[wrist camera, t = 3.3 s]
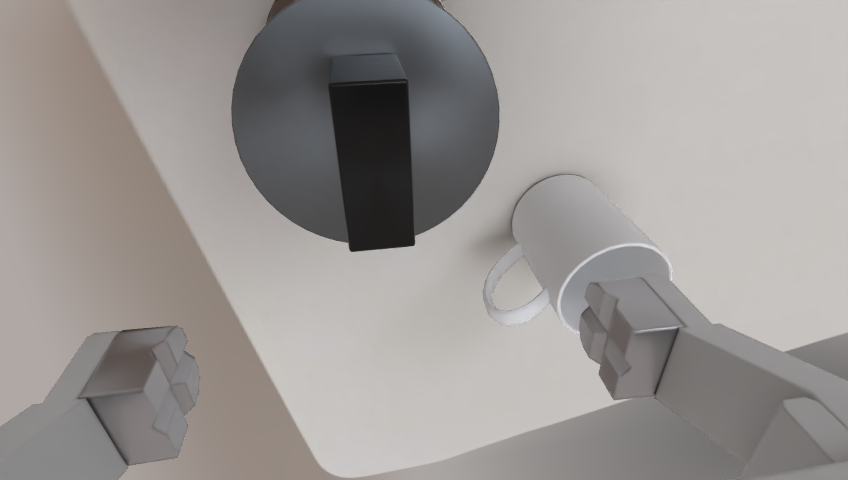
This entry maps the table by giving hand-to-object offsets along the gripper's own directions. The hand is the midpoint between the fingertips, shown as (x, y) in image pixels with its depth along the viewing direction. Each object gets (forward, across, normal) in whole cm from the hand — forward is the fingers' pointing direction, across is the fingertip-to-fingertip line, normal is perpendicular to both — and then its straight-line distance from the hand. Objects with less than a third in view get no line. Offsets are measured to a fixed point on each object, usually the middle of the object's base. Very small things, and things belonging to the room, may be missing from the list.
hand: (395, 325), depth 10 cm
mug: (+26, -13, +14) cm, 32 cm away
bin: (+24, 0, 0) cm, 24 cm away
